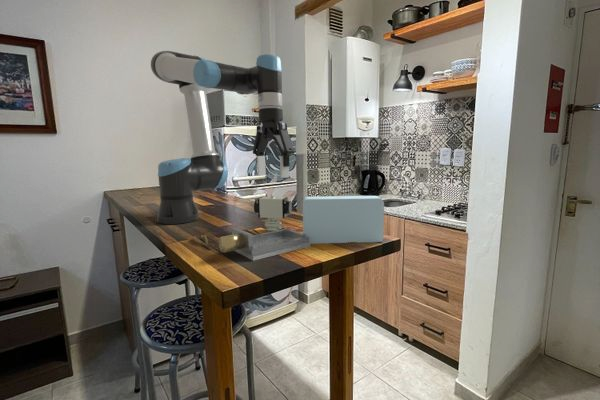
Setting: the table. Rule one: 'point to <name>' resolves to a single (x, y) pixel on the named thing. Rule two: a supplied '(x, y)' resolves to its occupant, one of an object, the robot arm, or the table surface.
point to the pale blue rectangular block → (343, 219)
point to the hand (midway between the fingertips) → (272, 176)
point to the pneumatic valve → (273, 210)
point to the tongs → (203, 242)
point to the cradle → (263, 243)
